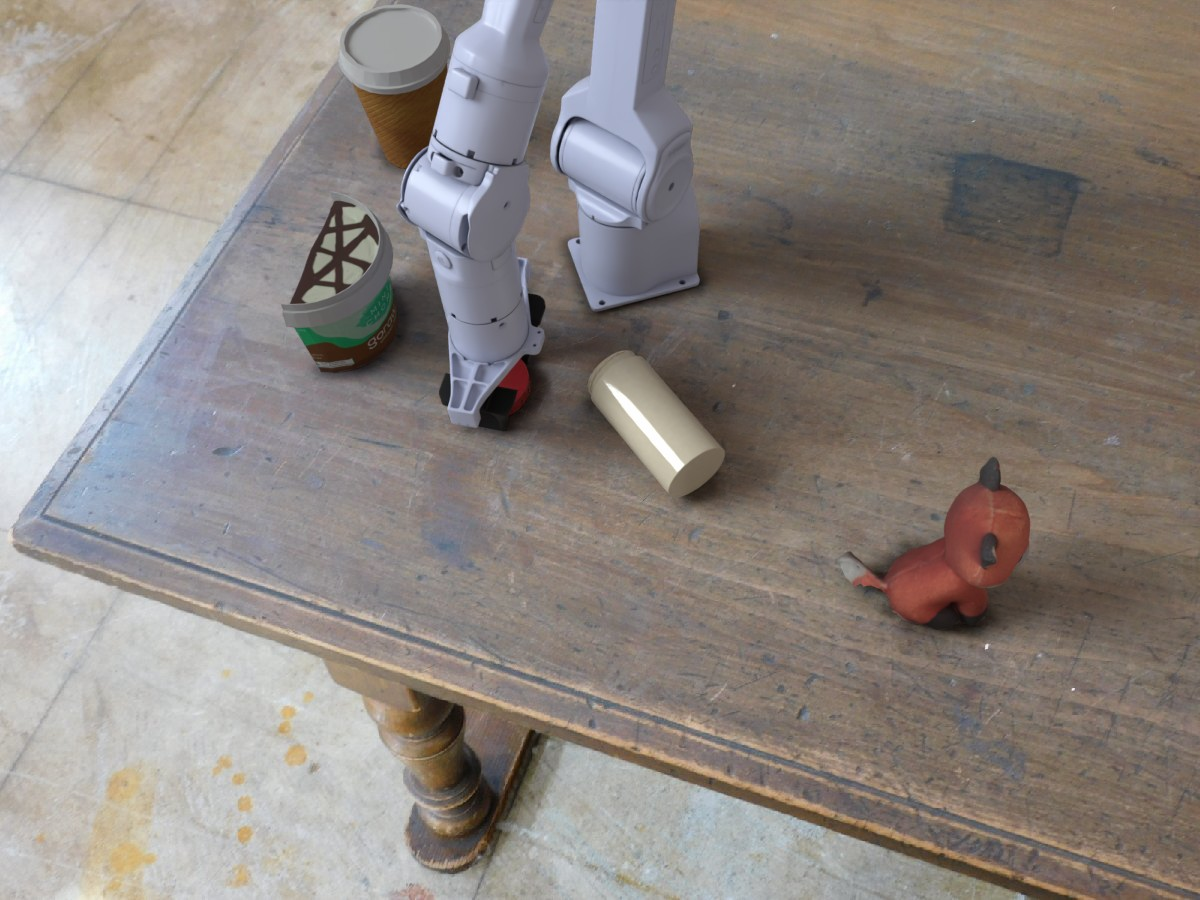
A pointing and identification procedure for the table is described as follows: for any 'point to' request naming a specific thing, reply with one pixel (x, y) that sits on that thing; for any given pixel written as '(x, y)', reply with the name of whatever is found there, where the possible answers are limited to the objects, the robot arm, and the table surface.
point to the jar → (654, 423)
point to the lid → (518, 384)
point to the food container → (346, 290)
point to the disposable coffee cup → (397, 74)
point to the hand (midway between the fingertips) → (503, 399)
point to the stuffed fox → (956, 558)
